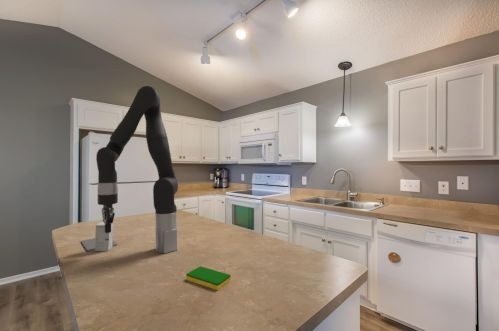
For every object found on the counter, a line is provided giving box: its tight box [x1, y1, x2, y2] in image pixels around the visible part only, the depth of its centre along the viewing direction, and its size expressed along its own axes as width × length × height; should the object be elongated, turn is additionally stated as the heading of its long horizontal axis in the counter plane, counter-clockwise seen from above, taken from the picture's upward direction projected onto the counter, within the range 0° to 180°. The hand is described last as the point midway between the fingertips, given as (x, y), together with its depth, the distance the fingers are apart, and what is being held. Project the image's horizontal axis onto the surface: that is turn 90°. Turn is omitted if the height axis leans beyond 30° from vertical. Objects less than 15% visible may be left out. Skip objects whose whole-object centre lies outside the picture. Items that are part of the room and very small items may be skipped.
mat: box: [80, 237, 118, 252], centre depth 117 cm, size 19×12×1 cm, turn 43°
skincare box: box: [94, 221, 114, 252], centre depth 107 cm, size 6×4×12 cm
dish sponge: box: [186, 266, 231, 291], centre depth 78 cm, size 7×14×2 cm, turn 59°
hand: (107, 232), depth 102 cm, fingers closed
